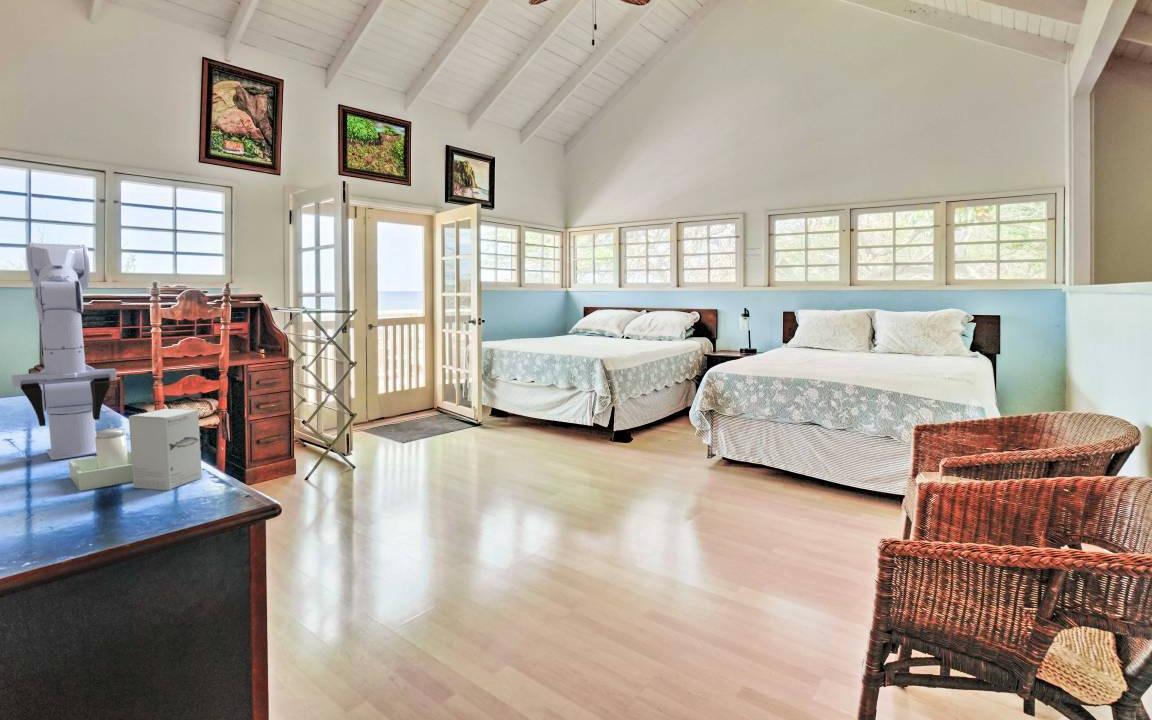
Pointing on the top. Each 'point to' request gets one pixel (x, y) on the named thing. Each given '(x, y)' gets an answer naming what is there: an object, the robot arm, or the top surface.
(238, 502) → the top surface
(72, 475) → the tray
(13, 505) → the top surface
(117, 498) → the top surface
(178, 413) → the supplement box
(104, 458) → the shaker
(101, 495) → the top surface
